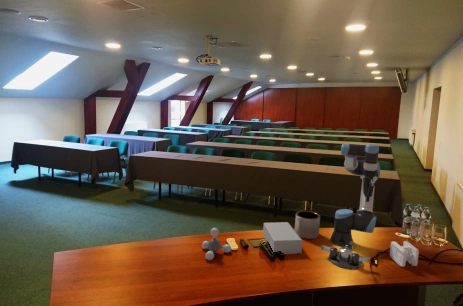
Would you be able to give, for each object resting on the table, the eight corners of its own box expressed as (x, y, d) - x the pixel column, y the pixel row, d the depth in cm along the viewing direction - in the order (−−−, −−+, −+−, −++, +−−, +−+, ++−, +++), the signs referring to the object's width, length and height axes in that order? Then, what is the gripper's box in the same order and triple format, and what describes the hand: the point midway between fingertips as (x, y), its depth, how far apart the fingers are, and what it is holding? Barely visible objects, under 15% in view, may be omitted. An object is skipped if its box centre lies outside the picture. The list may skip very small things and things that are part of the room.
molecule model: (202, 269, 201) (215, 251, 190) (190, 248, 208) (201, 230, 198) (225, 258, 215) (238, 241, 204) (213, 239, 222) (225, 222, 211)
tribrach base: (321, 256, 206) (322, 245, 205) (344, 250, 216) (345, 239, 214) (345, 272, 189) (347, 259, 188) (369, 264, 198) (370, 252, 197)
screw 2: (350, 265, 194) (351, 255, 193) (351, 261, 198) (351, 252, 197) (369, 268, 191) (370, 259, 190) (369, 265, 195) (370, 255, 194)
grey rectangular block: (338, 258, 202) (338, 249, 201) (334, 260, 199) (335, 251, 198) (323, 252, 209) (323, 243, 208) (319, 254, 206) (320, 245, 205)
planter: (319, 232, 245) (321, 212, 242) (317, 241, 229) (319, 220, 226) (296, 228, 251) (297, 209, 248) (292, 237, 234) (293, 216, 232)
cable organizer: (418, 268, 195) (420, 251, 193) (401, 268, 195) (403, 250, 193) (403, 256, 210) (406, 240, 208) (388, 256, 209) (390, 239, 207)
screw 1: (350, 256, 205) (351, 247, 204) (343, 254, 208) (344, 245, 207) (354, 250, 214) (355, 241, 213) (347, 248, 216) (348, 239, 215)
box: (287, 234, 240) (288, 222, 238) (301, 253, 210) (302, 239, 209) (262, 235, 237) (263, 222, 235) (273, 254, 208) (274, 240, 206)
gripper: (380, 172, 191) (376, 210, 195) (372, 167, 204) (368, 203, 208) (367, 171, 191) (363, 209, 195) (360, 167, 204) (356, 202, 208)
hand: (366, 206), depth 202 cm, fingers closed
